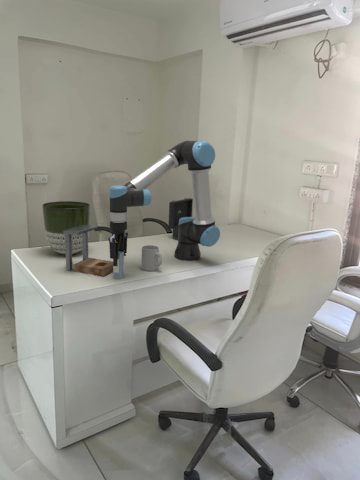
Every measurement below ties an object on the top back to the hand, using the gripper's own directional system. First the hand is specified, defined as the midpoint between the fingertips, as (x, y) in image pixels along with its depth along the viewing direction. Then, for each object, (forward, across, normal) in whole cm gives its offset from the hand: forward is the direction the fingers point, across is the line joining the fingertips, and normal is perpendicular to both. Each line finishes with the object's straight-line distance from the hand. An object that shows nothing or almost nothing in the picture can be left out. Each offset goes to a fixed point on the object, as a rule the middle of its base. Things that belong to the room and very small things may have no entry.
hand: (118, 270), depth 169 cm
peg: (+3, 0, 0) cm, 3 cm away
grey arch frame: (+3, -3, -22) cm, 23 cm away
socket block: (+3, -3, -14) cm, 15 cm away
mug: (+4, -18, +8) cm, 20 cm away
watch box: (+4, -96, +4) cm, 96 cm away
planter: (+4, -21, -44) cm, 49 cm away
